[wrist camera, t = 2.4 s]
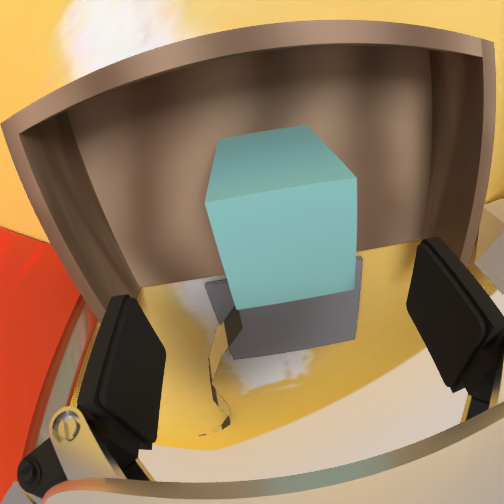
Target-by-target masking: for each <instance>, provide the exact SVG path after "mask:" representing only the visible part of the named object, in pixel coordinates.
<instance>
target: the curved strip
mask: <svg viewBox="0 0 504 504" xmlns="http://www.w3.org/2000/svg"><path fill="white" fill-rule="evenodd" d="M242 329H243V326H242V322H241V317H240V313H239V310H236V307H235V306H234V307H233V309H232V310H231V312H230V313H229V314H228V316H227V317H226V319H225V320H224V322H223V323H222V324H221V326H220V324H218V326H217V329H216V333H215V336H214V340H213V344H212V347H211V351H210V355H209V359H208V360H209V372H210V382H211V389H212V396H213V400H214V402H215V403H216V404H217V405H218V407H219V408H220V409H221V410H222V411H223V412H224V413H225V414H227V415H228V417H227V418H226V420H225V421H224V422H223V424H222V425H221V426H219V427H217V428H216V429H214V430H212V431H210V432H209V433H207V434H210V433H214V432H217V431H220V430H223V429H224V428H226V427H227V426H228V425H230V420H231V416H230V411H229V406H228V405H227V404H226V403H225V401H224V400H223V399H222V398H221V397H220V396H219V395H218V393H217V392H216V390H215V388H214V386H213V385H212V381H213V378H214V375H215V373H216V370H217V367H218V365H219V362H220V360H221V357H222V355H223V354H224V353H225V351H226V350H227V349H228V347H229V346H230V345H231V343H232V342H233V341H234V339H235V338H236V337H237V336H238V334H239V333H240V332H241V330H242ZM207 434H204V435H207ZM199 436H201V435H199Z"/></svg>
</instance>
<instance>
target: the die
mask: <svg viewBox="0 0 504 504" xmlns="http://www.w3.org/2000/svg"><path fill="white" fill-rule="evenodd" d="M474 264H475V265H476V266H477V267H478V268H479V269H480V270H481V272H482V273H483V274H484V275H485V276H486V277H487V278H488V279H489V280H490V281H491V282H492V283H493V284H494V285H495V286H496V288H497V289H498V290H499V291H500V292H501V293H502V294H504V198H502V199H499V200H496V201H493V202H490V203H487V204H484V208H483V212H482V217H481V221H480V226H479V235H478V242H477V249H476V256H475V262H474Z"/></svg>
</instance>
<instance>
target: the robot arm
mask: <svg viewBox="0 0 504 504" xmlns="http://www.w3.org/2000/svg"><path fill="white" fill-rule="evenodd" d="M406 306H407V311H408V313H409V315H410V316H411V318H412V320H413V322H414V324H415V326H416V327H417V329H418V331H419V333H420V335H421V337H422V339H423V341H424V343H425V345H426V346H427V348H428V350H429V352H430V354H431V356H432V358H433V360H434V362H435V364H436V367H437V369H438V371H439V373H440V375H441V377H442V379H443V381H444V383H445V385H446V386H447V387H450V388H451V390H452V392H453V393H454V392H456V391H459V390H461V389H463V388H466V390H467V392H468V396H467V400H466V404H465V407H464V411H463V414H462V418H461V421H460V424H458V425H456V426H454V427H452V428H449V429H447V430H445V431H443V432H440V433H438V434H436V435H434V436H431V437H429V438H426V439H424V440H421V441H419V442H416V443H414V444H411V445H408V446H405V447H403V448H400V449H397V450H394V451H391V452H388V453H385V454H382V455H378V456H376V457H372V458H368V459H365V460H361V461H358V462H354V463H350V464H346V465H342V466H338V467H334V468H329V469H325V470H320V471H315V472H309V473H304V474H298V475H292V476H285V477H278V478H270V479H260V480H250V481H238V482H219V483H218V482H216V483H180V482H156V481H155V480H154V478H153V477H152V476H151V474H150V473H149V472H148V470H147V469H146V468H145V466H144V465H143V464H142V462H141V461H140V459H139V458H138V451H139V449H146V450H152V443H154V442H155V441H156V438H157V429H158V419H159V409H160V400H161V392H162V384H163V376H164V368H165V361H166V351H165V348H164V346H163V344H162V343H161V341H160V340H159V338H158V336H157V335H156V333H155V331H154V330H153V328H152V326H151V325H150V323H149V321H148V319H147V318H146V316H145V314H144V313H143V311H142V309H141V307H140V305H139V304H138V302H137V300H136V299H135V298H131V296H130V295H129V294H124V295H118V296H113V297H111V299H110V301H109V304H108V306H107V309H106V312H105V315H104V317H103V320H102V323H101V326H100V328H99V331H98V334H97V337H96V340H95V343H94V346H93V349H92V352H91V355H90V359H89V362H88V365H87V368H86V372H85V375H84V378H83V382H82V385H81V389H80V392H79V396H78V400H77V403H78V405H77V408H75V407H72V406H67V407H63V408H61V409H59V410H58V411H57V412H56V413H55V414H54V415H53V417H52V419H51V421H50V424H49V435H50V437H49V438H48V439H47V440H46V441H44V442H43V443H42V444H41V445H39V446H38V447H37V448H36V449H34V450H33V451H32V452H31V453H29V454H28V455H27V456H26V457H24V458H23V459H22V460H21V462H20V464H19V466H18V470H17V478H18V482H17V481H14V483H13V484H12V486H11V487H10V489H9V490H8V492H7V493H6V495H5V497H4V498H3V500H2V501H1V503H0V504H504V316H503V315H502V313H501V312H500V310H499V309H498V308H497V306H496V305H495V304H494V302H493V301H492V299H491V298H490V297H489V295H488V294H487V293H486V292H485V290H484V289H483V288H482V286H481V285H480V284H479V283H478V281H477V280H476V279H475V278H474V276H473V275H472V274H471V273H470V271H469V270H468V269H467V268H466V267H465V265H464V264H463V263H462V262H461V261H460V260H459V258H458V257H457V256H456V255H455V254H454V253H453V251H452V250H451V249H450V248H449V247H448V246H447V245H446V244H445V242H444V241H443V240H442V239H441V238H440V237H437V236H436V237H431V238H426V239H423V240H422V241H421V244H420V245H418V247H417V252H416V258H415V263H414V269H413V274H412V279H411V284H410V288H409V293H408V297H407V302H406Z"/></svg>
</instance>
